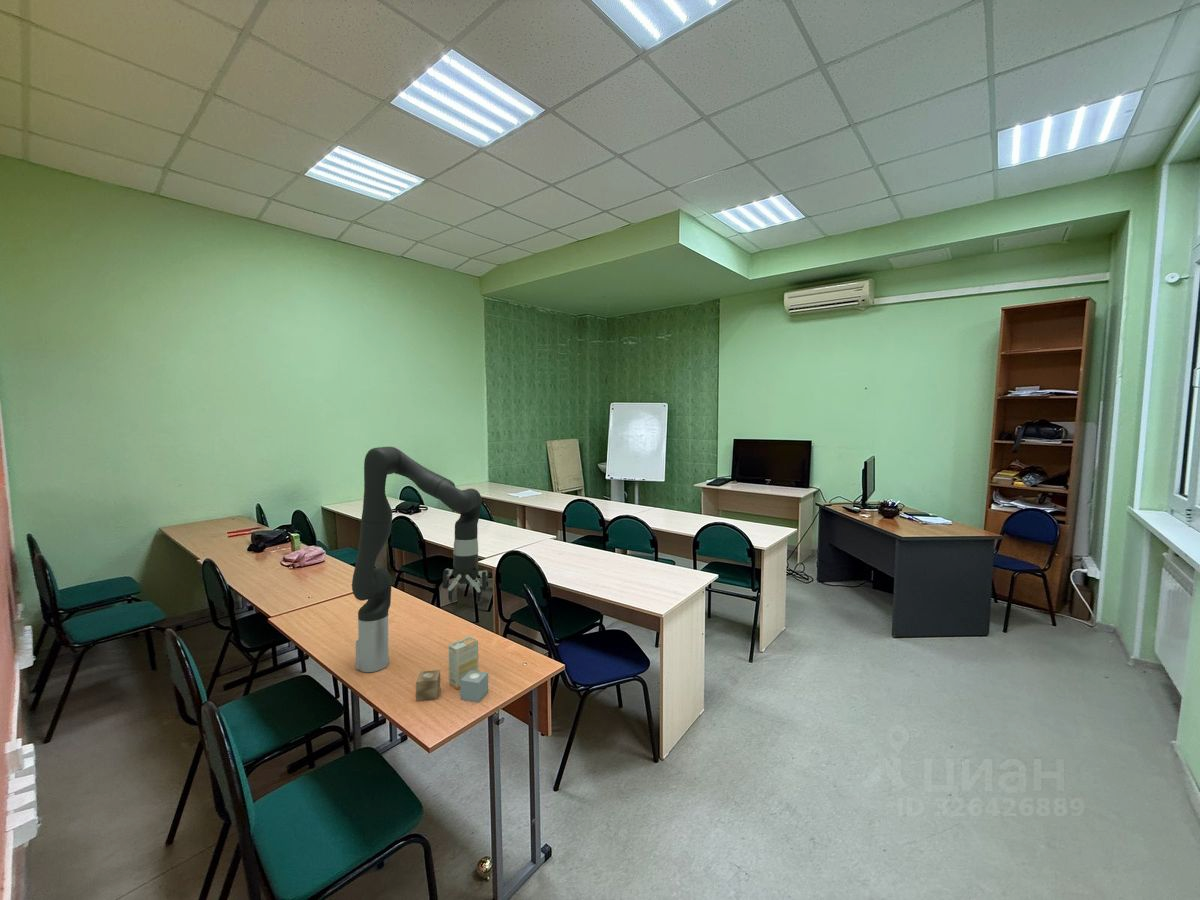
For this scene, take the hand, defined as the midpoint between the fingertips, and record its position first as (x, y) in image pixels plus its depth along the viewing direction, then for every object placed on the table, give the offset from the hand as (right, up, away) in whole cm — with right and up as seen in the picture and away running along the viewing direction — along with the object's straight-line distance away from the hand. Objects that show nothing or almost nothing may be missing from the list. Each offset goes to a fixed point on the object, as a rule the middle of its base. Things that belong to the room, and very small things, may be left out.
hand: (465, 602), depth 149 cm
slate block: (+5, -26, -7) cm, 28 cm away
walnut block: (-9, -26, -7) cm, 29 cm away
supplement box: (-1, -26, 0) cm, 26 cm away
